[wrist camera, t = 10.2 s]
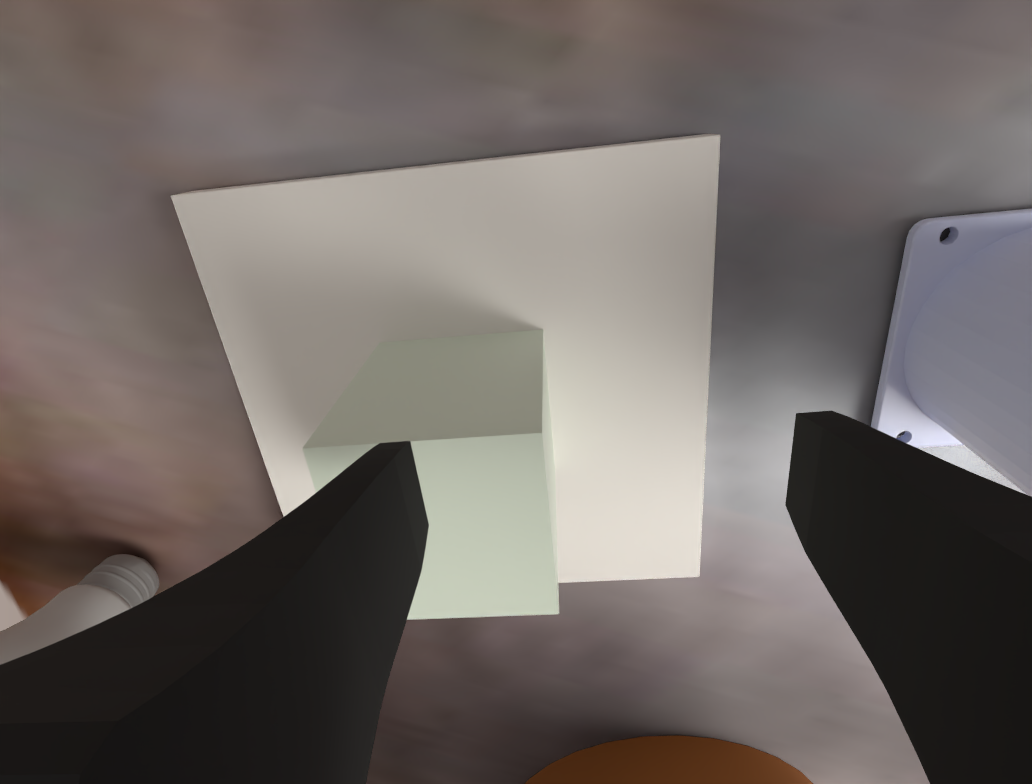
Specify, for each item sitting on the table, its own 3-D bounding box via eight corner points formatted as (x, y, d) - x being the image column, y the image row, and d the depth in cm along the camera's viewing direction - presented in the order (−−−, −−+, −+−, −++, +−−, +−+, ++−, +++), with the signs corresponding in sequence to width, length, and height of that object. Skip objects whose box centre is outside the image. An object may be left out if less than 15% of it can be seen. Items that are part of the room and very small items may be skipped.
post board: (708, 133, 17) (791, 143, 11) (692, 555, 23) (737, 692, 18) (192, 190, 18) (34, 224, 12) (320, 572, 25) (256, 704, 19)
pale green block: (543, 329, 18) (541, 433, 12) (555, 470, 20) (559, 613, 15) (379, 342, 19) (302, 448, 13) (409, 478, 21) (355, 621, 15)
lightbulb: (119, 622, 27) (-129, 916, 17) (43, 521, 24) (-301, 798, 14) (234, 603, 26) (43, 902, 16) (167, 496, 23) (-109, 774, 14)
